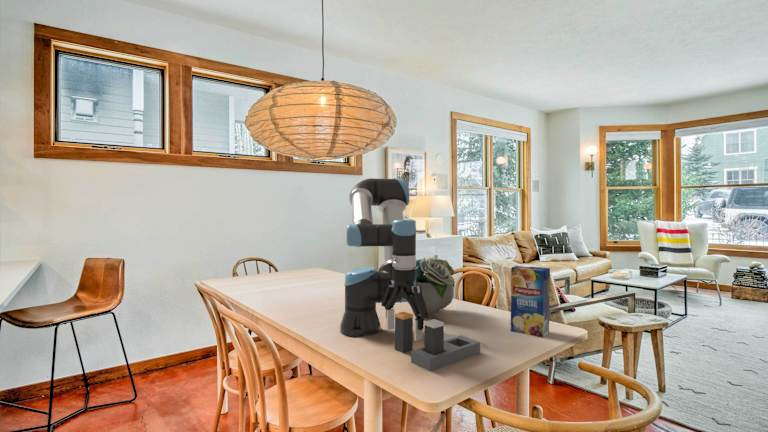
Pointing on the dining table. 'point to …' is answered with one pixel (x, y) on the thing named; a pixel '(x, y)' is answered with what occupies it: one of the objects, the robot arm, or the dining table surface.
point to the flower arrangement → (435, 283)
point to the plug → (403, 332)
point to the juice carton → (530, 300)
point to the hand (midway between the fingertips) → (403, 334)
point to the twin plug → (434, 337)
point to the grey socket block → (446, 353)
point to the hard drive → (448, 336)
